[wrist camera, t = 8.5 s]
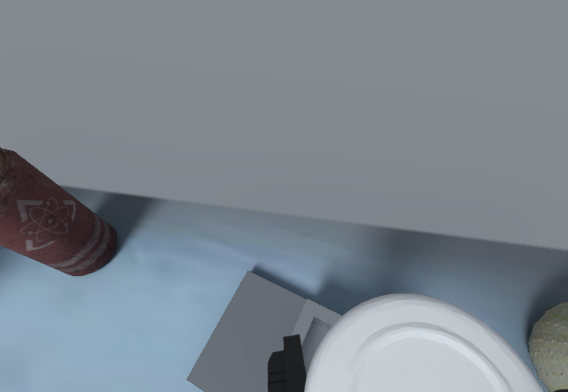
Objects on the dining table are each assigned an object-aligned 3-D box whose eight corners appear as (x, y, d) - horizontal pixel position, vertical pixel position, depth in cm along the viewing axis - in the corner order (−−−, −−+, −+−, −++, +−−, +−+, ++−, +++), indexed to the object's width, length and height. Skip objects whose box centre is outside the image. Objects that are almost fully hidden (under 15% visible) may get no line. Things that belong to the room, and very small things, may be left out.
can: (119, 215, 34) (17, 128, 22) (120, 266, 31) (2, 196, 19) (64, 231, 34) (-70, 151, 22) (60, 285, 30) (-101, 225, 18)
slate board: (405, 520, 20) (410, 527, 19) (190, 379, 25) (186, 379, 24) (438, 367, 24) (443, 366, 24) (249, 273, 30) (247, 270, 29)
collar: (374, 492, 20) (384, 509, 18) (258, 417, 23) (252, 422, 20) (409, 357, 24) (421, 354, 22) (307, 306, 27) (307, 298, 24)
